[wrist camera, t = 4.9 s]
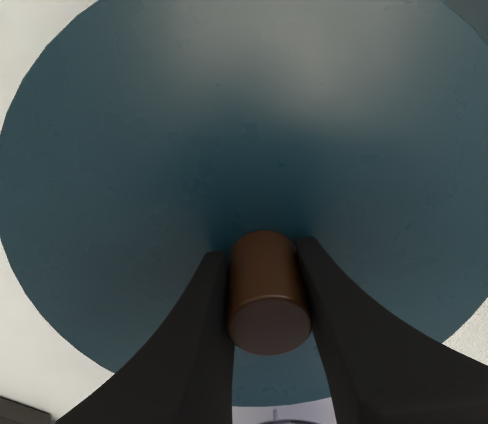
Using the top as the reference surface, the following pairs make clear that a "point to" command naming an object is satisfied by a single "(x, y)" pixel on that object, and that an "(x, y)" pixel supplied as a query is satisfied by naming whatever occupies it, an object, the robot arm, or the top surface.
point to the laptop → (20, 414)
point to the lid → (249, 172)
